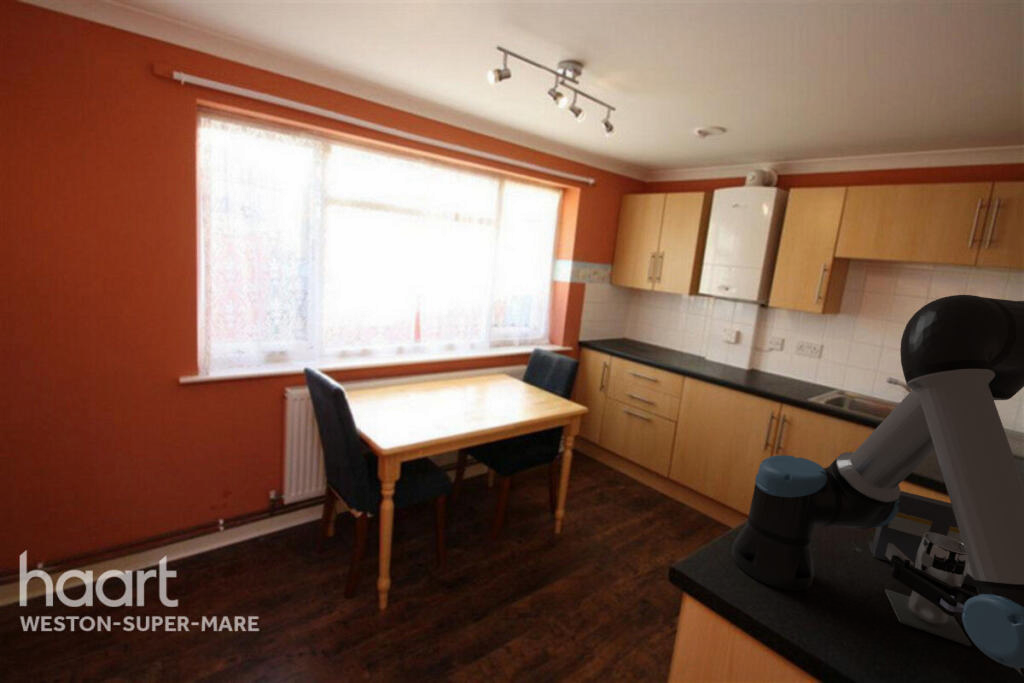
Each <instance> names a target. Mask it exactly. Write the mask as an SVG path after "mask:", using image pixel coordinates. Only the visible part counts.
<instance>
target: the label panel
mask: <svg viewBox="0 0 1024 683" xmlns="http://www.w3.org/2000/svg"><path fill="white" fill-rule="evenodd" d="M900 491H901V493H900V496H899V503H897V507H899V509H898V512H897V514H896V516H895V518H894V519H893V520H892V521H891V522H889V523H888V524H886V525H884V526H881V527H876V529H875V533H874V536H873V537H874V538H873V540H872V539H870V540H869V541H868V545H869V546H868V548H869V547H870V548H869V550H870V552H871V555H872V554H873V555H872V556H874V557H875V559H878V560H881V561H884V560H885V562H887V563H891V561H890V560H889V559H888V558H887V557H886V556H885V553H886V549H887V546H888V543H893V544H894V545H895V546H896V547H897V548H898V549H899V550H900V551H901V552H902V553H903V554H904V555H905V556H906V557H907V558H908V559H910V560H911V561H912V562H913V563H914V566H915V558H916V554H917V551H918V548H919V545H920V542H921V540H922V538H923V535H924V533H926V532H931V533H937V534H941V535H945V536H948V537H950V538H953V539H955V540H957V541H959V542H961V543H963V541H962V538H961V535H960V531H959V528H958V525H957V521H956V518H955V515H954V511H953V508H952V505H951V502H948V501H945V500H941V499H940V500H939V499H936V498H932V497H927V496H922V495H919V494H916V493H913V492H912V493H911V492H906V491H904V490H900ZM874 557H873V558H874ZM964 584H966V585H965V586H968V585H969V586H968V587H971V586H973V587H972V588H974V587H976V585H975V582H974V578H973V577H972V576H970V575H969V574H968V573H967V574H966V577H965V579H964V582H963V583H962V585H964Z"/></svg>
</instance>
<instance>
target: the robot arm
mask: <svg viewBox="0 0 1024 683" xmlns="http://www.w3.org/2000/svg"><path fill="white" fill-rule="evenodd" d="M899 353H900V363H901V364H900V365H901V368H902V373H903V377H904V380H905V382H906V383H905V384H906V387H907V388H909V389H910V390H911V391H909V393H908V394H907V395H906V396H904V398H903V399H902V401H900V402H899V404H897V405H896V407H895V408H894V409H893V410H892V411H891V412H890V413H888V415H887V416H886V417H885V419H883V420H882V422H881V423H880V424H879V425H878V426H877V427H876V428H875V429H874V430H873V432H871V434H870V435H869V436H867V438H866V439H864V441H863V442H862V443H861V444H860V445H859V447H857V448H856V450H855V451H854V452H852V451H850V452H849V451H847V452H842V453H840V454H839V455H838V456H837V457H836V458H835V459H834V460H833V461H832V463H830V465H828V466H826V467H823V466H822V465H820V464H819V463H817V462H816V461H813V460H810V459H807V458H804V457H800V456H799V457H796V456H794V455H783V454H782V455H781V454H779V455H772V456H768V457H767V458H766V457H765V458H764V459H763V460H762V461H761V463H760V465H759V468H758V471H757V473H756V476H755V480H754V481H755V485H754V489H753V493H752V494H753V495H752V498H751V503H750V508H749V511H748V512H749V513H748V518H747V522H746V523H745V524H744V526H743V528H742V529H741V531H740V532H739V533H738V535H737V537H736V538H735V540H734V541H733V544H732V549H731V557H732V560H733V561H734V563H735V564H736V565H737V566H738V568H740V569H741V570H742V571H743V572H744V573H746V574H747V575H749V576H750V577H752V578H754V579H755V580H757V581H759V582H761V583H763V584H766V585H768V586H770V587H773V588H777V589H781V590H784V591H789V592H790V591H793V592H800V591H805V590H808V589H810V588H811V587H812V585H813V581H814V576H815V570H814V563H813V555H812V554H813V553H812V549H811V547H812V546H811V543H812V540H813V539H812V538H813V534H814V530H815V527H830V528H831V527H832V528H833V527H834V528H848V529H849V528H850V529H852V528H853V529H859V530H867V529H869V530H870V529H871V528H872V529H873V528H874V529H875V528H876V529H877V527H881V526H884V525H886V524H888V523H889V522H891V521H892V520H893V519H894V518H895V516H896V514H897V512H898V509H899V507H897V503H899V496H900V493H901V491H902V490H901V488H900V484H901V483H902V482H903V481H904V480H905V479H906V478H908V477H909V475H910V474H912V473H913V472H914V471H915V470H916V469H917V468H918V467H919V466H920V465H921V464H922V463H923V462H924V461H926V460H927V459H928V458H929V457H930V456H932V454H934V453H936V454H935V455H936V457H937V460H938V465H939V467H940V470H941V474H942V478H943V480H944V483H945V484H944V485H945V487H946V491H947V495H948V497H949V500H950V503H951V505H952V508H953V511H954V515H955V518H956V521H957V525H958V528H959V531H960V535H961V538H962V541H963V545H964V548H965V551H966V555H967V558H968V561H969V566H968V570H967V573H968V574H969V575H970V576H972V577H973V578H974V582H975V585H976V588H975V589H976V590H975V591H976V593H974V592H971V591H970V590H967V589H965V588H964V587H962V586H961V587H960V586H951V585H949V584H947V583H945V582H943V581H941V580H939V579H937V578H935V577H933V576H932V575H930V574H928V573H926V572H924V571H922V570H920V569H918V568H916V567H914V563H913V562H912V561H911V560H910V559H908V558H907V557H906V556H905V555H904V554H903V553H902V552H901V551H900V550H899V549H898V548H897V547H896V546H895V545H894V544H893V543H888V546H887V549H886V553H885V556H886V557H887V558H888V559H889V560H890V561H891V562H890V564H891V565H892V566H893V569H892V573H891V577H892V578H893V579H894V580H896V581H897V582H900V583H901V584H903V585H904V586H906V587H907V588H909V589H910V590H912V591H915V592H916V593H918V594H919V595H921V596H922V597H924V598H926V599H927V600H929V601H930V602H932V603H933V604H935V605H936V606H937V607H939V608H940V609H941V610H942V611H943V612H944V613H946V614H947V615H950V616H954V614H955V613H961V620H962V624H963V627H964V629H965V632H966V633H967V635H968V637H969V638H970V640H971V641H972V642H973V644H974V645H975V647H977V648H978V649H979V651H981V652H982V653H983V654H984V655H985V656H987V657H988V658H989V659H992V660H993V661H995V662H997V663H999V664H1001V665H1003V666H1006V667H1007V668H1014V669H1015V670H1016V672H1018V673H1019V674H1020V675H1021V676H1022V677H1023V678H1024V481H1023V480H1022V476H1021V473H1020V470H1019V467H1018V466H1017V462H1016V460H1015V456H1014V453H1013V450H1012V448H1011V445H1010V442H1009V439H1008V437H1007V434H1006V431H1005V428H1004V425H1003V423H1002V419H1001V417H1000V414H999V411H998V409H997V405H996V402H995V401H1007V400H1010V399H1012V398H1013V397H1014V396H1015V395H1016V394H1018V393H1019V392H1020V391H1021V390H1022V389H1023V388H1024V300H1009V299H1001V298H993V297H986V296H985V297H984V296H979V295H972V294H956V295H955V294H954V295H950V296H949V295H948V296H945V297H939V298H938V299H935V300H932V301H931V302H928V303H927V304H925V305H923V306H922V307H921V308H920V309H918V310H917V311H916V312H915V313H914V314H913V315H912V317H911V318H910V319H909V320H908V322H907V324H906V325H905V327H904V330H903V332H902V336H901V341H900V352H899ZM960 594H961V595H962V598H961V602H960V603H959V602H958V598H959V595H960ZM954 617H955V616H954Z"/></svg>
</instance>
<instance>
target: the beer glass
mask: <svg viewBox="0 0 1024 683" xmlns="http://www.w3.org/2000/svg"><path fill="white" fill-rule="evenodd" d="M968 566H969V561H968V558H967V555H966V551H965V548H964V545H963V543H961V542H959V541H957V540H955V539H953V538H950V537H948V536H945V535H941V534H937V533H931V532H926V533H924V535H923V538H922V540H921V542H920V545H919V548H918V551H917V554H916V558H915V566H914V567H916V568H918V569H920V570H922V571H924V572H926V573H928V574H930V575H932V576H933V577H935V578H937V579H939V580H941V581H943V582H945V583H947V584H949V585H951V586H960V587H962V585H963V584H962V583H963V582H964V579H965V577H966V574H967V570H968ZM906 608H907V610H908V611H909V612H910V613H911V614H912V615H914V616H915V617H917V618H918V619H920V620H922V621H924V622H926V623H929V624H931V625H935V626H940V627H944V626H947V624H948V615H947V614H946V613H944V612H943V611H942V610H941V609H940V608H939V607H937V606H936V605H935V604H933V603H932V602H930V601H929V600H927V599H926V598H924V597H922V596H921V595H919V594H918V593H916V592H915V591H913V590H912V592H911V594H910V597H909V599H908V601H907V602H906Z"/></svg>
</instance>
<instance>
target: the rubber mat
mask: <svg viewBox="0 0 1024 683" xmlns="http://www.w3.org/2000/svg"><path fill="white" fill-rule="evenodd" d="M884 590H885V592H884V593H885V594H886V597H887V599H888V600H889V602H890V605H891V607H892V609H893V611H894V613H895V616H896V617H897V619H898V622H899V623H900V624H903V625H906V626H909V627H912V628H914V629H918V630H921V631H924V632H927V633H930V634H933V635H935V636H939V637H940V638H941V637H942V638H945V639H947V640H950V641H952V642H956V643H959V644H962V645H965V646H967V647H971V646H972V643H971V641H970V639H969V638H968V637H967V635H966V633H965V631H964V630H963V629H962V628H961V625H960V624H959V622H958V620H956V617H955V616H950V615H948V624H947V626H944V627H940V626H935V625H931V624H929V623H926V622H924V621H922V620H920V619H918V618H917V617H915V616H914V615H912V614H911V613H910V612H909V611H908V610H907V608H906V602H907V601H908V599H909V597H910V596H911V595H910V596H909V595H905V594H903V593H900V592H897V591H894V590H890V589H887V588H885V589H884Z"/></svg>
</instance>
